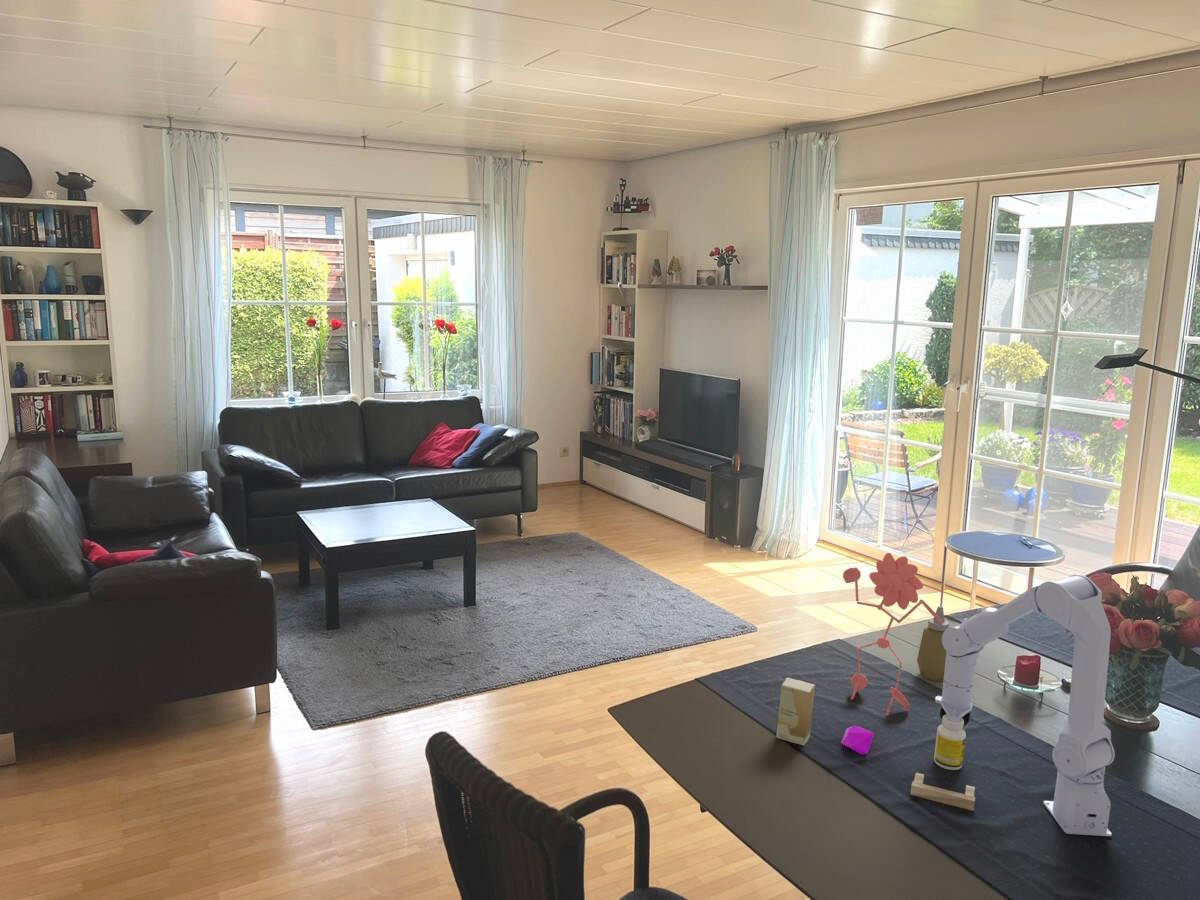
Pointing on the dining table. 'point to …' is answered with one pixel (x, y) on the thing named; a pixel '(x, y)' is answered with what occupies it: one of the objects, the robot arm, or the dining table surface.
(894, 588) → the figurine
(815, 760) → the dining table surface
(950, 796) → the u rest
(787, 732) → the skincare box
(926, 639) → the squeeze bottle
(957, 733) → the supplement bottle
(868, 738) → the crystal
